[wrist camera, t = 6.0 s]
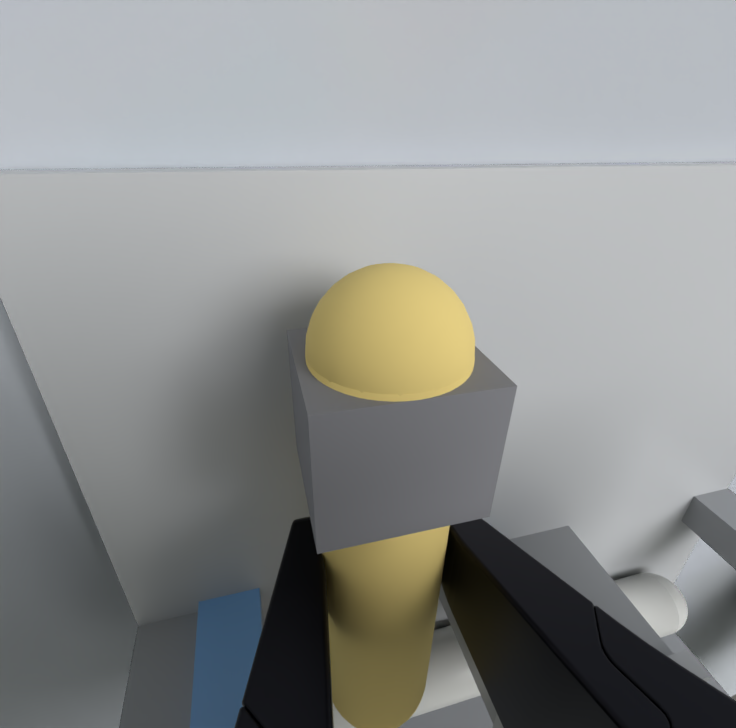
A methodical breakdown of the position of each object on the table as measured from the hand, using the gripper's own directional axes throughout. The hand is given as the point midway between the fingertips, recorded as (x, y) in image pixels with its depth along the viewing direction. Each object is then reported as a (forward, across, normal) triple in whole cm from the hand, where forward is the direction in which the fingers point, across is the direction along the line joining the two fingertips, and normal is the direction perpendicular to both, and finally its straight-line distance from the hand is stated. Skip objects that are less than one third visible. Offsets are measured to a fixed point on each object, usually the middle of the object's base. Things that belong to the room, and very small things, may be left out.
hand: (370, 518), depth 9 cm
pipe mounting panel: (+2, -4, +3) cm, 5 cm away
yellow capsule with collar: (0, 0, 0) cm, 0 cm away
